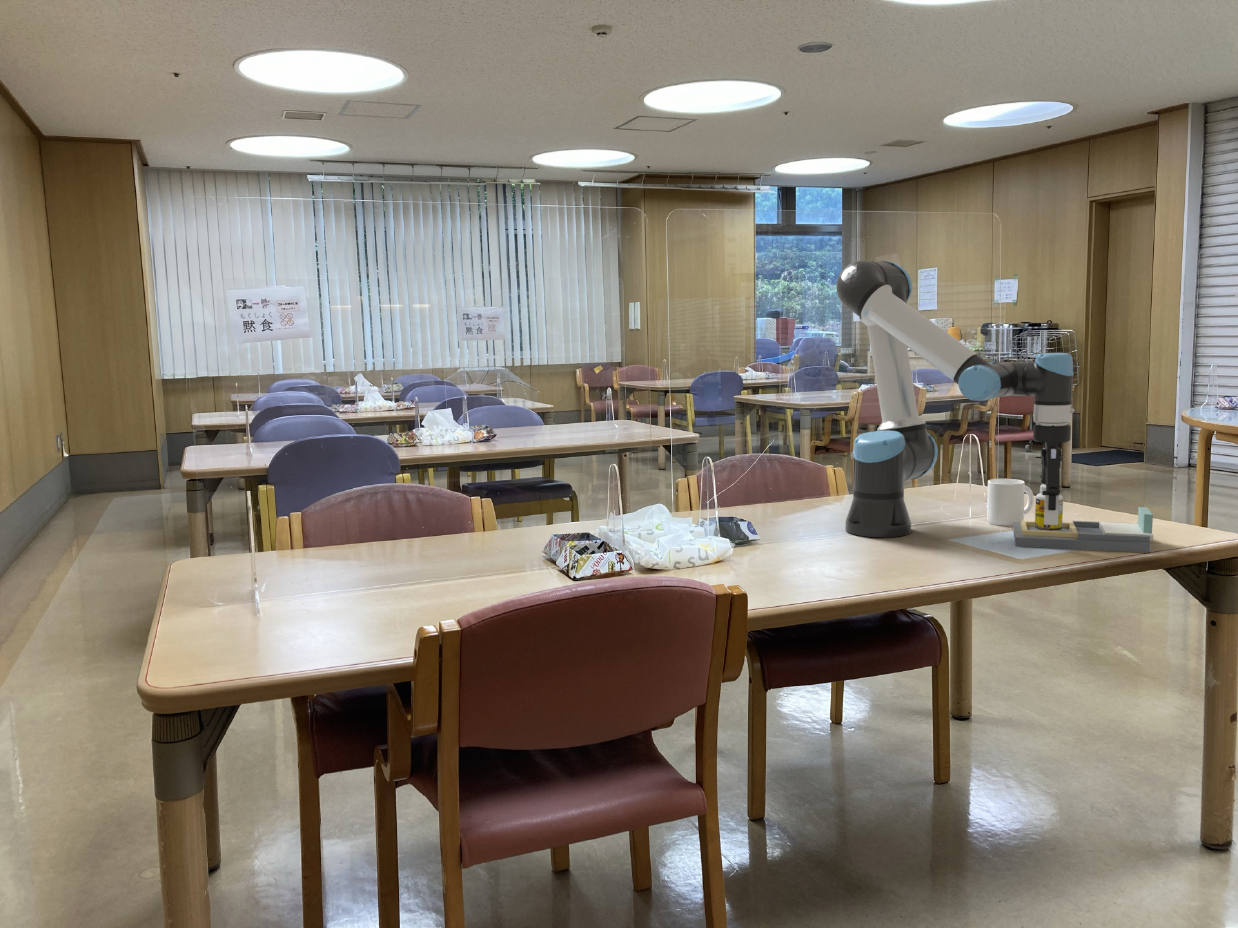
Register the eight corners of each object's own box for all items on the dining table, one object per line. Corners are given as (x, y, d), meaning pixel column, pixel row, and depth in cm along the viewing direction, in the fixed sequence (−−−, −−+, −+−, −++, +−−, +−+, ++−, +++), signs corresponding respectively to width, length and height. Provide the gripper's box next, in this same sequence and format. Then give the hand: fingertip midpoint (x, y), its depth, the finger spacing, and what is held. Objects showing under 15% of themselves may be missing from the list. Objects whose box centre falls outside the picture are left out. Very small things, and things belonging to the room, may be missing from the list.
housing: (1015, 546, 207) (1015, 531, 206) (1012, 530, 222) (1013, 517, 221) (1150, 552, 198) (1150, 537, 197) (1138, 536, 213) (1138, 522, 212)
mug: (1021, 517, 236) (1022, 476, 235) (1044, 523, 228) (1045, 481, 227) (979, 521, 233) (980, 480, 232) (1001, 527, 226) (1002, 485, 224)
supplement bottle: (1029, 529, 213) (1030, 485, 212) (1049, 527, 215) (1051, 483, 213) (1046, 534, 208) (1048, 489, 207) (1067, 532, 210) (1069, 487, 208)
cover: (1105, 538, 202) (1106, 514, 202) (1099, 527, 213) (1100, 504, 212) (1153, 540, 199) (1154, 516, 199) (1144, 529, 210) (1145, 506, 209)
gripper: (1076, 430, 195) (1072, 530, 198) (1066, 418, 218) (1062, 508, 221) (1036, 429, 198) (1033, 529, 201) (1030, 417, 221) (1027, 507, 224)
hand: (1048, 518), depth 211 cm, fingers open, 13 cm apart
